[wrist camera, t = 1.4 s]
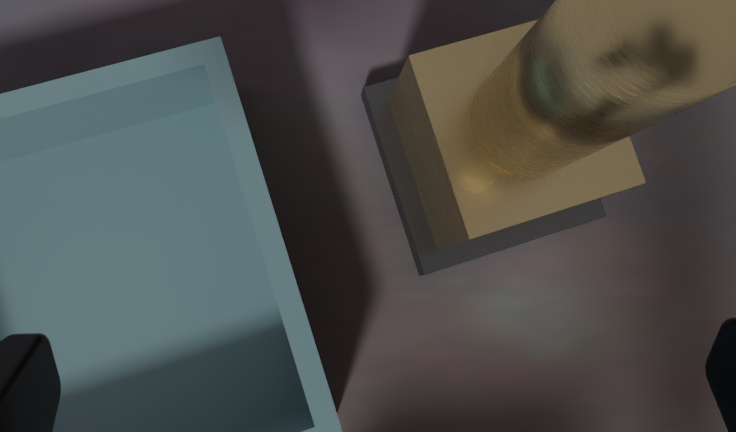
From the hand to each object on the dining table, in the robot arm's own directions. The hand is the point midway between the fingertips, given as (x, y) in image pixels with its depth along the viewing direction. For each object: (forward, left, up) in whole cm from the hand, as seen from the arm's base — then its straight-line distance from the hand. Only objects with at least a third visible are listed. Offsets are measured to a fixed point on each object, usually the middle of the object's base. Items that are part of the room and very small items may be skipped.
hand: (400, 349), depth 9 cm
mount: (+4, -7, -15) cm, 17 cm away
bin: (+3, +7, -15) cm, 17 cm away
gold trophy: (+4, -7, -14) cm, 16 cm away
